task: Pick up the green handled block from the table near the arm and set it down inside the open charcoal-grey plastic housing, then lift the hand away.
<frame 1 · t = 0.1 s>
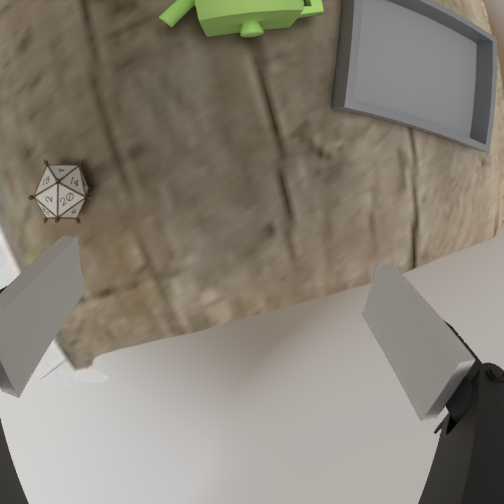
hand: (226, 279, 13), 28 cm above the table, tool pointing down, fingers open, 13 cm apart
housing: (416, 65, 33), on the table
game die: (75, 184, 38), on the table
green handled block: (237, 11, 30), on the table
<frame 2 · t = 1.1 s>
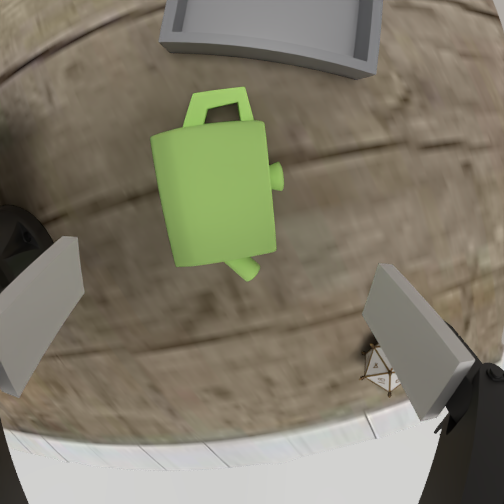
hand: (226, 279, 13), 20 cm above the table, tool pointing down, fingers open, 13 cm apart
game die: (379, 344, 42), on the table
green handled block: (227, 181, 32), on the table
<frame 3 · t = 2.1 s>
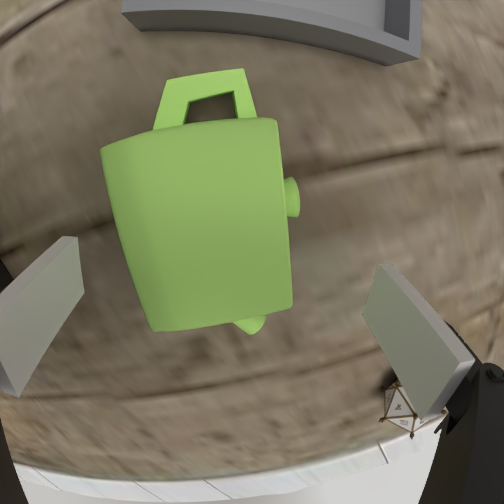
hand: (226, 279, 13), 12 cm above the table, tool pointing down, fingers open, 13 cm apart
game die: (399, 377, 35), on the table
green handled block: (220, 200, 24), on the table
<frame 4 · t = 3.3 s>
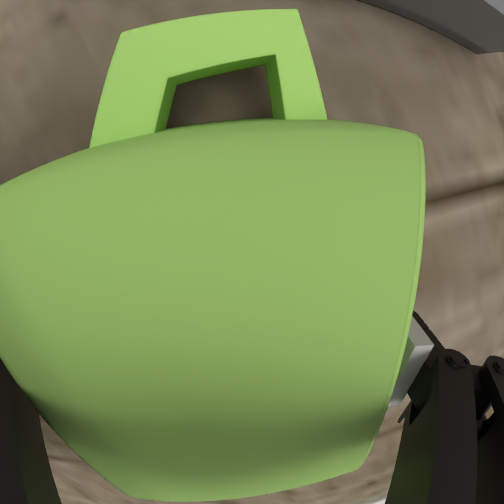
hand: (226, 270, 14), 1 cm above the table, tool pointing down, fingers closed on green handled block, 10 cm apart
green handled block: (233, 258, 15), on the table, touching gripper
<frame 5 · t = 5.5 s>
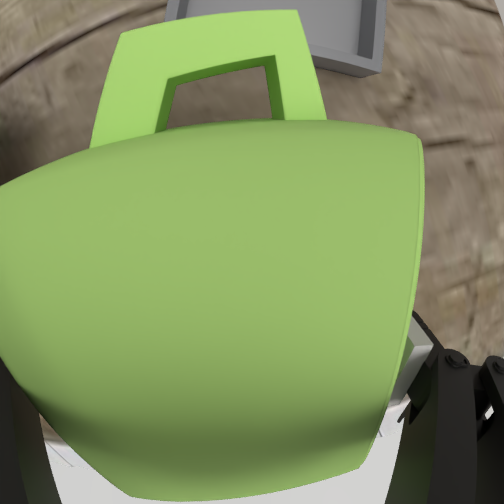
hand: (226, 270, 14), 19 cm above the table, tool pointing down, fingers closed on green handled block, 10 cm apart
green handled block: (233, 258, 15), point 18 cm above the table, touching gripper
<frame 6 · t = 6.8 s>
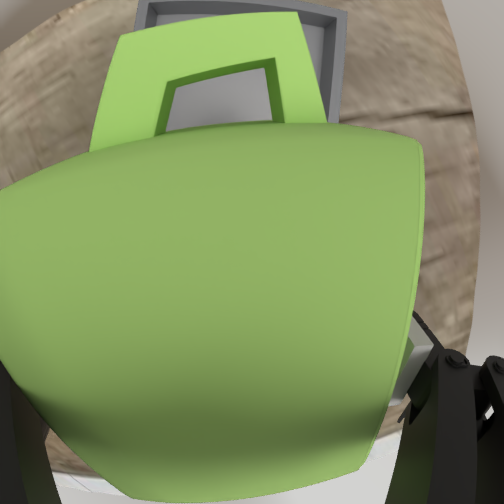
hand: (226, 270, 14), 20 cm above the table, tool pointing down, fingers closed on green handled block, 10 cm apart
housing: (231, 116, 30), on the table
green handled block: (233, 260, 15), point 19 cm above the table, touching gripper
when the fingers open (3 cm above the table, at t = 11.5 s): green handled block drops 1 cm, resting on housing.
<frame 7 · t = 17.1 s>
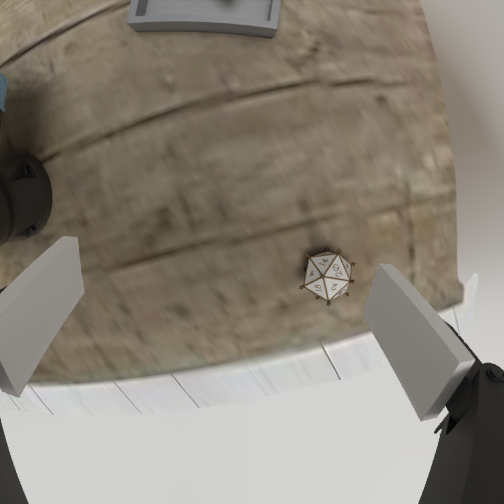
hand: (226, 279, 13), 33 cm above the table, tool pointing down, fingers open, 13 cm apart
game die: (321, 263, 50), on the table
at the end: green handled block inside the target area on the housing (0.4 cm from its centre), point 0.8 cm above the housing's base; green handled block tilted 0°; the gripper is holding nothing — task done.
